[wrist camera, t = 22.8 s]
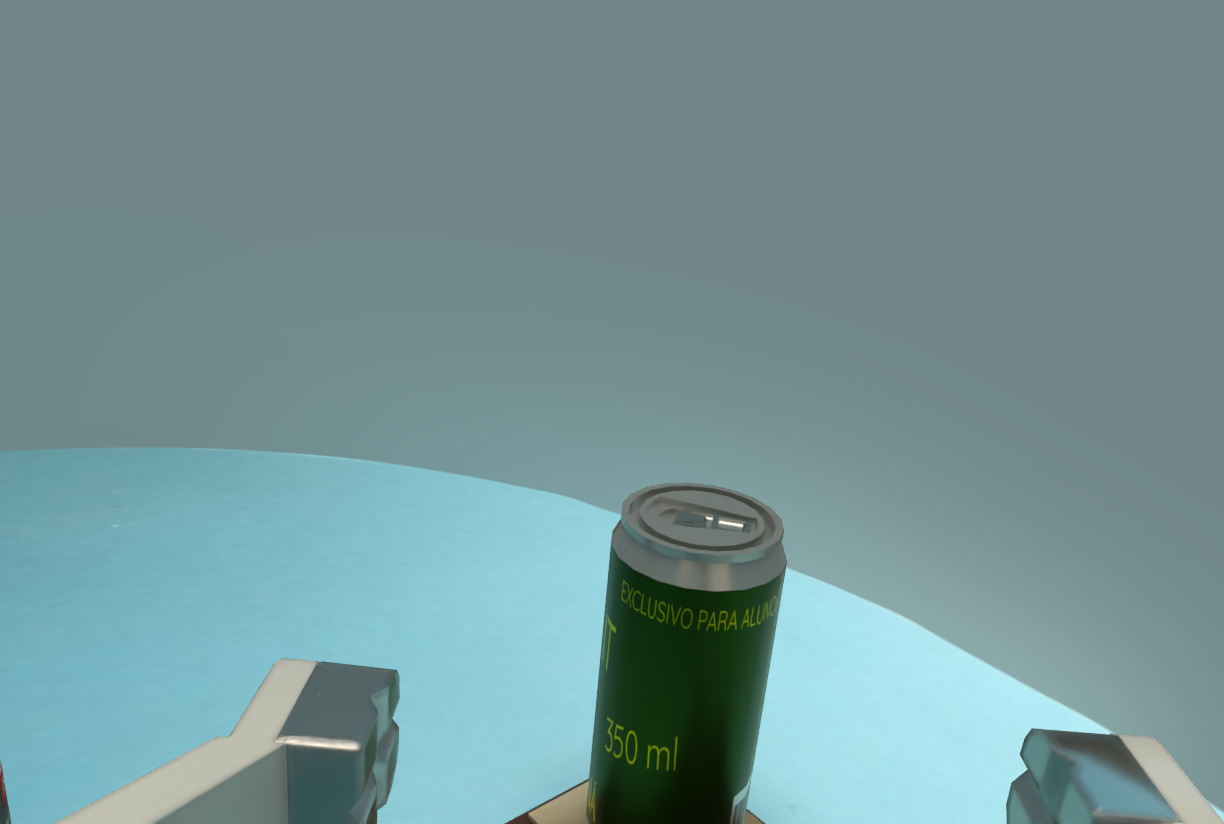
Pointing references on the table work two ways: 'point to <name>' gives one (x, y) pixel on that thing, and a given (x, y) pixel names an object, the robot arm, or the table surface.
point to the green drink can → (684, 656)
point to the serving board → (575, 809)
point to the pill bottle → (3, 801)
